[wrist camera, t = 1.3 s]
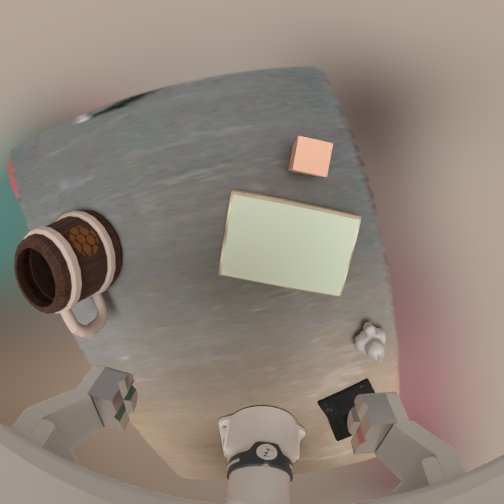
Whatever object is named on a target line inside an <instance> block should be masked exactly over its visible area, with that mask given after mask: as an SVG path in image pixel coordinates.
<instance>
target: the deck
mask: <svg viewBox="0 0 504 504" xmlns="http://www.w3.org/2000/svg"><path fill="white" fill-rule="evenodd" d="M361 218H362V217H360V216H358V215H357V214H354V213H350V212H345V211H341V210H337V209H332V208H328V207H323V206H318V205H314V204H309V203H304V202H299V201H294V200H289V199H284V198H279V197H274V196H269V195H263V194H258V193H252V192H247V191H241V190H232V191H231V197H230V203H229V209H228V215H227V221H226V227H225V234H224V240H223V246H222V253H221V260H220V266H219V273H218V275H220V276H225V277H230V278H236V279H241V280H246V281H251V282H257V283H262V284H267V285H273V286H278V287H284V288H289V289H295V290H301V291H306V292H312V293H318V294H324V295H330V296H336V297H341V294H342V290H343V287H344V283H345V280H346V276H347V273H348V269H349V266H350V262H351V258H352V254H353V251H354V247H355V243H356V239H357V235H358V231H359V226H360V222H361Z"/></svg>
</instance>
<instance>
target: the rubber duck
mask: <svg viewBox="0 0 504 504" xmlns="http://www.w3.org/2000/svg"><path fill="white" fill-rule="evenodd" d="M385 342H386V333H385V331H384V330H383V329H382V328H377V327H375V326H373V324H372V323H370V322H366V323H365V324H364V326H363V331H361V332H360V333H359V335H357V336H356V337H355V345H356V348H357V350H358V351H360V352H362V353H363V354H365V355H367V356H368V357H369V359H371V360H375V361H378V360H379V361H380V362H381V359H382V358H383V357H384V354H385V346H384V344H385Z"/></svg>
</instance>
